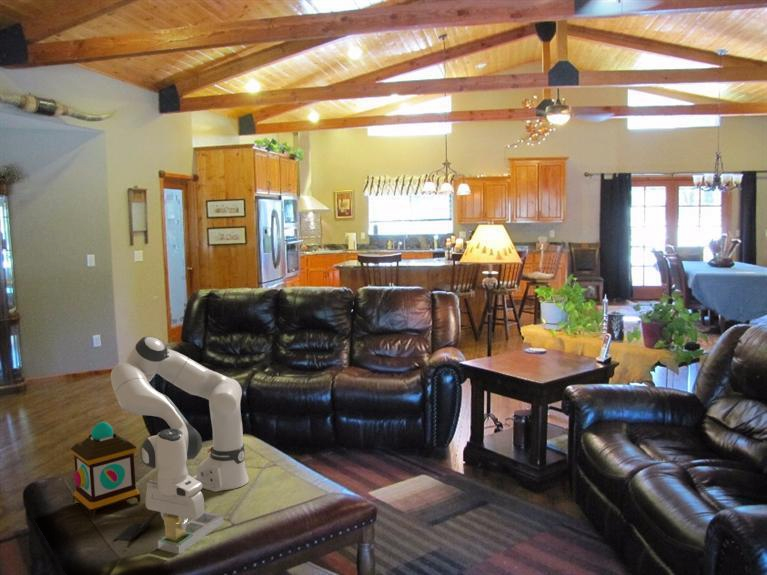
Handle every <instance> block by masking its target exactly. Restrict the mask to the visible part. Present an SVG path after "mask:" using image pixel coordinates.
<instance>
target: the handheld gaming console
mask: <svg viewBox="0 0 767 575" xmlns="http://www.w3.org/2000/svg"><path fill="white" fill-rule="evenodd" d="M158 513H159V512H158V511H155V513H154V514H153V515H151V517H149V518H148V519H147V520H146V521H145V522H143V523H137V522H133V523H132V524H131V525H130V526H128V527H127V528H126V529H125V530H124V531H123V530H122V532H121V533H119V535H117V536H116V537H114V539H113V541H114V542H117V541H123V542H124V541H125V542H132V541H133V540H134V539H135V538H136V537H138V535H139V534H141V533H142V532H143V531H144V530H145V529H147V528H148V527H149V526H150V525H151V524H152V522H153V521H154V519H155V518H156V516H157V515H158Z"/></svg>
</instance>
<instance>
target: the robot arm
mask: <svg viewBox="0 0 767 575" xmlns="http://www.w3.org/2000/svg"><path fill="white" fill-rule="evenodd" d="M155 375H159V377H161V378H163V379H164V380H165V381H167V382H169V383H170V384H172V385H174V386H176V388H179V389H180V390H182V391H184V392H186V393H188V394H189V395H192V396H197V397H199V398H200V397H201V398H203V399H205V400H208V403H209V404H208V406H209V415H210V421H211V428H212V446H211V447H210V448H209V449H207V453H209V456H208V457H207V458H205V459H204V460H203V461H201V463H200V464H198V465H197V468H196V474H195V475H194V476H191V474H189V471H188V468H187V463H188V462H187V461H188V460H194V459H195V458H196V457H197V456H198V455H199V453H200V452H201V450H202V448H203V440H202V436H201V434H200V433H199V432H198V430H197V429H196V428H194V426H192V425H191V424H190V423H189V421H188V420H187V419H186V418H185V416H184V415H183V414H182V412H181V410H179V408H178V407H177V405H176V404H175V403H174V402H173V401H172V400H171V399H170V397H169V396H167V395H166V394H164V393H161V392H159V391H158V390H156V389H155V387H154V386H152V385H151V384H150V382H151V381H152V379H153V378H154V377H155ZM110 382H111V386H112V389H113V393H114V396H115V397H116V401H117V402H118V404H119V406H120V407H121V409H122V410H123V411H124V412H126V413H128V414H131V415H135V416H151V417H158V418H161V419H163V420H164V421H165V422H166V423H167V425H168V426H169V427H170V428H167V429H166V428H165V429H163V430H161V431H159V432H158V433H157V434H156V435H152V436H149V437H147V438H145V439H144V441H143V442H142V444H141V445H140V456H141V457H140V458H141V461H142V464H144V465H146V466H147V467H148V468H151V469H157V474H156V477H157V479H153V478H152V479H150V480H148V481H147V482H146V492H145V507H146V508H147V510H149V511H154V512H158V513H160V516H161V518H162V521H163V522H164V523H163V524H164V526H165V520H164V516H166V515H167V514H171V515H176V516H180V517H181V519H182V522H181V523H179V529H182V530H184V529H185V528H186V523H187V522H188V521H189V519H190V520H191V519H194V520H196V519H198V518H199V517H201V516H202V515H203V514H204V512H205V500H204V495H203V492H202V491H201V490H202V489H205V490H208V491H210V492H215V493H217V492H221V491H226V490H228V491H229V490H234V489H237V488H240V487H243V486H245V485H247V483H249V481H250V479H249V476H248V472H247V467H246V463H245V456H246V455H245V444H244V440H243V439H244V436H243V432H244V430H243V421H242V413H241V400H242V395H243V389H242V387H241V384H240V383H239V381H238V380H236V379H235V378H232V377H228V376H227V375H224V374H221V373H219V372H217V371H214V370H212V369H210V368H208V367H206V366H203V365H202V364H200V363H198V362H197V361H195V360H193V359H191V358H190V357H188V356H186V355H185V354H182V353H180V352H178V351H176V350H173V349H170V348H168V347H167V345H166V344H165V343H164V342H163V341H162V340H161V339H159V338H157V337H155V336H150V335H149V336H143V337H142V338H140V339H139V341H137V343H136V344H135V346H134V348H133V349H132V350H131V351H130V353H129V355H128V357H126V361H123V362H122V361H121V362H119V363H117V364H116V365H115V366H114V367H113V368H112V369H111V372H110Z"/></svg>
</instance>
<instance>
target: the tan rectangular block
mask: <svg viewBox="0 0 767 575" xmlns="http://www.w3.org/2000/svg"><path fill="white" fill-rule="evenodd" d="M164 520H165V525H164V536H165V537H166V541H170V542H175V543H179V542H180V541H182V540H183V539H185V538H186V528H185V529H184V530H182V529H179V523H181V522H182V519H181V517H180V516H176V515H171V514H167V515H166V516H164ZM164 520H163V521H164Z"/></svg>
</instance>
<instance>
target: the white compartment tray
mask: <svg viewBox="0 0 767 575" xmlns="http://www.w3.org/2000/svg"><path fill="white" fill-rule="evenodd" d="M223 523H224V515H221V514H217V513H213V512H208V511H204V514H203V515H202V516H201V517H199V518H198V519H196V520H194V519H190V520H187V522H186V538H185V539H183V540H182V541H180V542H179V543H175V542H170V541H166V537H165V535H164V536H163V537H161V538H160V539H159V540H158V541H157V549H158V550H162V551H164V552H169V553H174V554H177V555H179V554H182V552H184V551H185V550H186V549H189V548H190V547H191V546H192V545H193V544H195V543H197V542H199V540H201V539H202V538H204V537H206V535H208V534H209V533H211V532H213V531H214V530H215V529H216V528H218V527H219V526H221V525H222V524H223Z"/></svg>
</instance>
